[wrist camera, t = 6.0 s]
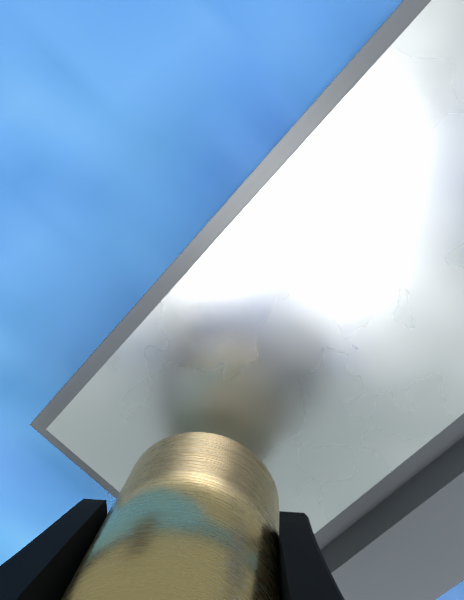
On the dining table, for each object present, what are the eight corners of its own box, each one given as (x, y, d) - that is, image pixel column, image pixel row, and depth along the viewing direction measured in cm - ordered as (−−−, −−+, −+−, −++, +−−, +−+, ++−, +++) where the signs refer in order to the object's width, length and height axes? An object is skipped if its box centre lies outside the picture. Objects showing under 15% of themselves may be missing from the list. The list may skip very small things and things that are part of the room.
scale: (718, 293, 14) (863, 320, 11) (304, 606, 19) (311, 698, 15) (424, -13, 13) (479, -94, 10) (62, 396, 18) (9, 442, 14)
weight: (309, 486, 11) (336, 693, 6) (227, 591, 12) (196, 839, 7) (174, 402, 11) (97, 549, 6) (101, 515, 12) (-12, 717, 7)
